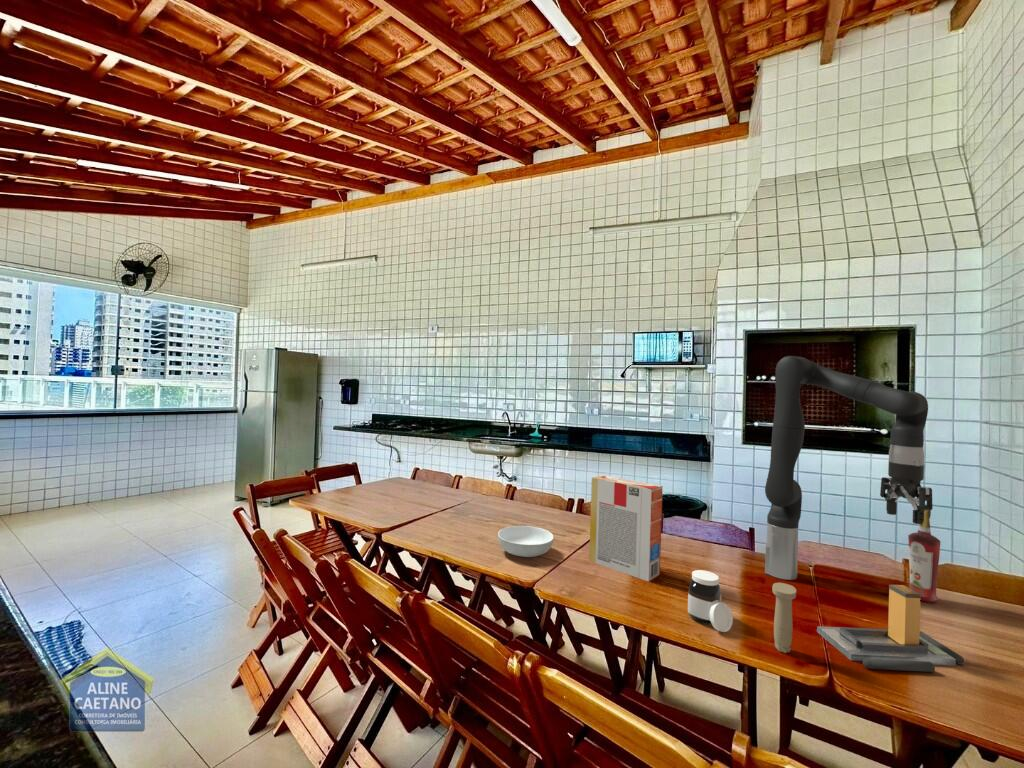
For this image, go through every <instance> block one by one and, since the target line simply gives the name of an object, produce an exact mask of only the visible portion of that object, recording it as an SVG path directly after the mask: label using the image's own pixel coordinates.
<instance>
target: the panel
mask: <svg viewBox="0 0 1024 768" xmlns="http://www.w3.org/2000/svg"><path fill="white" fill-rule="evenodd" d="M816 632H817V634H819V635H820V636H821V637H822V638H823V639H824V640H825V641H827V642H828V643H829V644H830V645H832V646H833V647H834V648H835V649H837V650H838V651H839V652H840V653H841V654H842V655H844V656H845V657H846V658H847V659H849V661H851V662H853V661H854V662H863V660H864V659H885V660H906V661H926V662H931V663H932V664H933V665H934V666H936V665H937V666H951V667H952V666H953V667H954V666H956V665H957V663H956V659H955V658H953V657H951V656H950V655H948V654H947V653H945V652H944V651H942V650H940V649H939V648H937V647H936V646H934V645H933V644H931V643H929V642H928V641H926V640H925V639H923V638H922V637H920V636H919V645H910V644H899V643H898V642H896V641H895V640H893V639H892V638H890V637H889V636H888V628H887V629H884V628H883V629H882V628H869V627H868V628H863V627H843V626H840V627H838V626H821V625H820V626H819V625H818V626H817V628H816Z"/></svg>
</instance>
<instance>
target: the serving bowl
mask: <svg viewBox="0 0 1024 768" xmlns="http://www.w3.org/2000/svg"><path fill="white" fill-rule="evenodd" d="M497 537H498V538H497V539H498V542H499V543H498V544H500V547H501V548H502V549H503V550H504V551H505V552H506V553H508V554H510V555H513V556H517V557H522V558H533V557H539V556H542V555H544V554H546V553H548V551H549V550H550V549H551V548H552V546H553V543H554V539H555V537H554V535H553V533H552V532H550V530H549V531H548V530H547V529H545V528H541V527H538V526H531V525H513V526H507V527H503V528H502V529H500V530H499V531H498V532H497Z"/></svg>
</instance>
